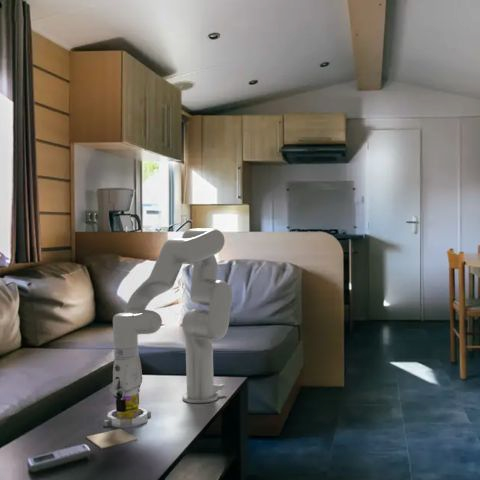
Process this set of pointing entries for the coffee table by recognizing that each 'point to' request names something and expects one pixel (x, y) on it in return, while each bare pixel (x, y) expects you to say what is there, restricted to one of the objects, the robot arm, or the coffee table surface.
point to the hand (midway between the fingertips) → (127, 407)
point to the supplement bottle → (130, 404)
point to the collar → (127, 419)
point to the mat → (111, 438)
